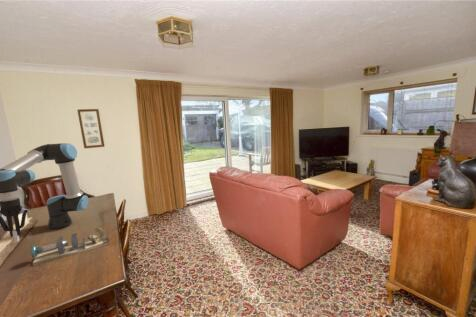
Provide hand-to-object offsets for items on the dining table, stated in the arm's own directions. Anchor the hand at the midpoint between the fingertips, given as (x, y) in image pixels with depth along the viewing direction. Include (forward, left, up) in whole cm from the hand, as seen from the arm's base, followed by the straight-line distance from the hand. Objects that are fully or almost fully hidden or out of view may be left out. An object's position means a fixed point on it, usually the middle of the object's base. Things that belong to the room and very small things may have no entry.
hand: (16, 241), depth 119 cm
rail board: (0, +24, -14) cm, 28 cm away
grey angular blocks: (0, +29, -14) cm, 33 cm away
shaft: (0, +13, -11) cm, 17 cm away
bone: (-1, +35, -13) cm, 37 cm away
